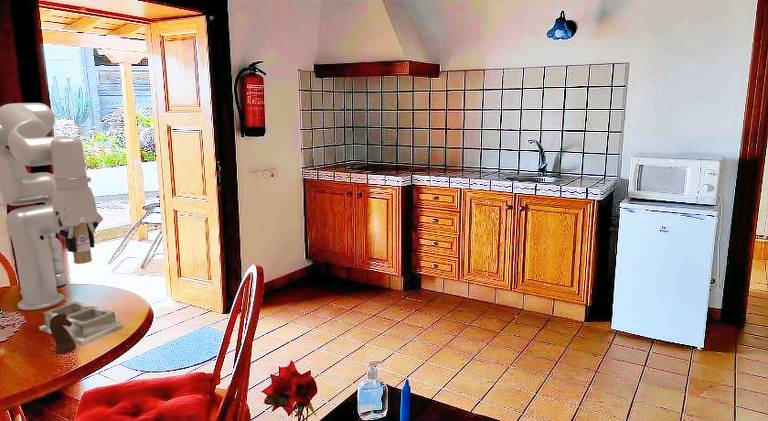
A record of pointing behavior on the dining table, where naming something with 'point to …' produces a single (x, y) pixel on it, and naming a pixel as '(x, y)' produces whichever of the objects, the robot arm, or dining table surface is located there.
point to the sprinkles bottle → (82, 243)
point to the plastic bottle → (56, 258)
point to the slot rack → (83, 321)
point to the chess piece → (62, 334)
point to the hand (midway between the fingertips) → (81, 248)
